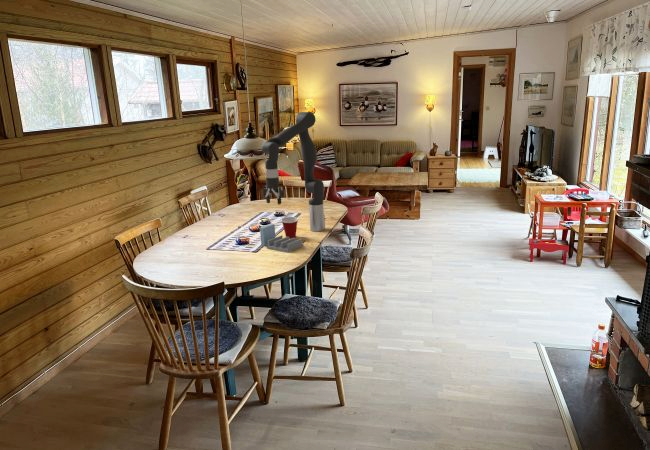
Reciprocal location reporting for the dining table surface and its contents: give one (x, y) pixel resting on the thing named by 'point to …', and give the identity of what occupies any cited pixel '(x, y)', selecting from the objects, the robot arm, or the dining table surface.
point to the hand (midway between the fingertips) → (273, 203)
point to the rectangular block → (267, 233)
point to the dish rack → (284, 244)
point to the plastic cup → (290, 226)
